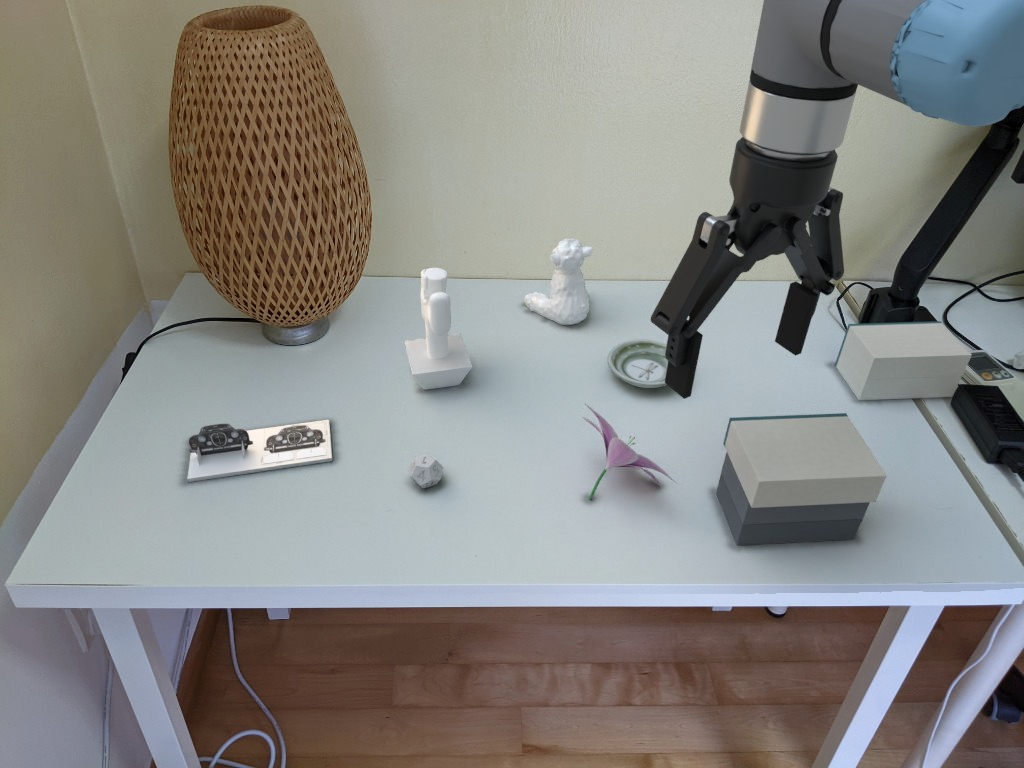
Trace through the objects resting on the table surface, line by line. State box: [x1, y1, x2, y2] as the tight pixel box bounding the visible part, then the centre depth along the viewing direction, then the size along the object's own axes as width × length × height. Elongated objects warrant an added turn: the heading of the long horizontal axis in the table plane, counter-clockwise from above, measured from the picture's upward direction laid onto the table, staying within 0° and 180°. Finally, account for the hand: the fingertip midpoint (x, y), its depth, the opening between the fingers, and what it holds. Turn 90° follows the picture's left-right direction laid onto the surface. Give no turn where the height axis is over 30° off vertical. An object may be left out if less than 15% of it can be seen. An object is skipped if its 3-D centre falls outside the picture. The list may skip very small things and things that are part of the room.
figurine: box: [403, 267, 474, 391], centre depth 92 cm, size 7×9×15 cm
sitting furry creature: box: [524, 237, 594, 326], centre depth 105 cm, size 10×9×12 cm
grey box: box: [715, 451, 871, 546], centre depth 77 cm, size 12×7×6 cm, turn 94°
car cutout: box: [186, 419, 333, 483], centre depth 84 cm, size 15×7×4 cm, turn 103°
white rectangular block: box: [834, 320, 973, 401], centre depth 96 cm, size 12×7×6 cm, turn 94°
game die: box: [407, 453, 444, 489], centre depth 82 cm, size 4×4×3 cm
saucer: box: [606, 338, 668, 389], centre depth 97 cm, size 10×10×2 cm
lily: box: [581, 402, 678, 501], centre depth 80 cm, size 12×12×10 cm
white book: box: [722, 412, 887, 508], centre depth 75 cm, size 12×9×4 cm
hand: (734, 368), depth 72 cm, fingers open, 13 cm apart
